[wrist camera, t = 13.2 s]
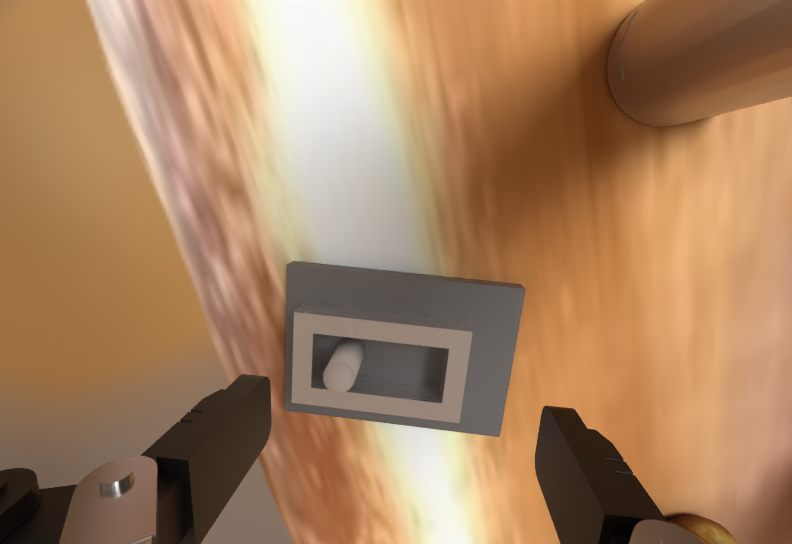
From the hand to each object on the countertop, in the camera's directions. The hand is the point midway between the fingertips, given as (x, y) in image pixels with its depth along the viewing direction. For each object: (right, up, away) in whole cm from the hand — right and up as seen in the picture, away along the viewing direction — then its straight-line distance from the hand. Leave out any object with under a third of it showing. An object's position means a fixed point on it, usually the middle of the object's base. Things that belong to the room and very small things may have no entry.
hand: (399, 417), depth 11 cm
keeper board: (0, -3, +23) cm, 23 cm away
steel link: (-1, -3, +22) cm, 22 cm away
